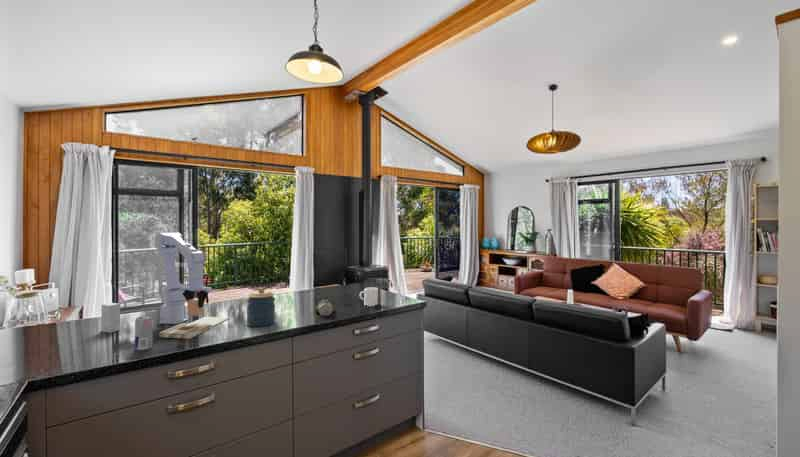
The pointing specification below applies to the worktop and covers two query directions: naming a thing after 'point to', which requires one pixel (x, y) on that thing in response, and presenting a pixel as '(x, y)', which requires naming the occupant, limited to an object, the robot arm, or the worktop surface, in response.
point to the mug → (370, 296)
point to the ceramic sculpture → (324, 307)
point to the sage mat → (211, 320)
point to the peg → (193, 307)
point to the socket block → (185, 330)
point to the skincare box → (110, 317)
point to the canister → (260, 308)
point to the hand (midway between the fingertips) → (195, 306)
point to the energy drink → (143, 333)
